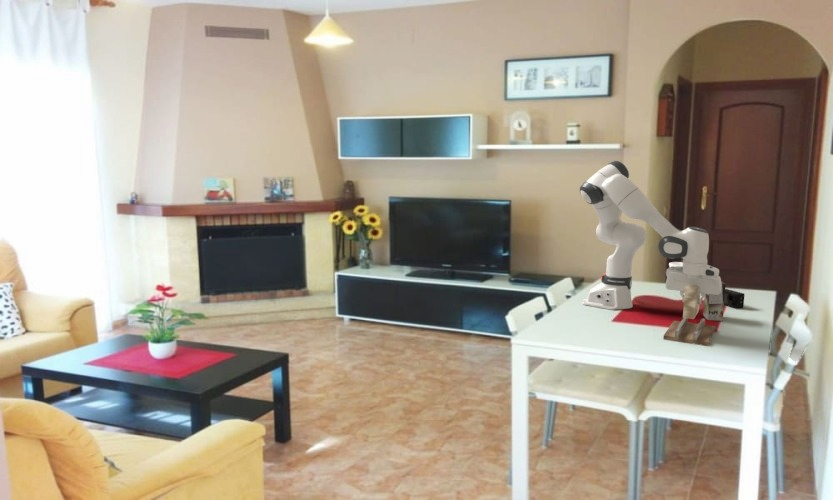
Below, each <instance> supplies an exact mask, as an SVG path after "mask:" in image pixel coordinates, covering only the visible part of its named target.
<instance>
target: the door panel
mask: <svg viewBox="0 0 833 500" xmlns="http://www.w3.org/2000/svg"><path fill="white" fill-rule="evenodd" d="M698 299H701V293H698V286H692V285H687V286H686V287H685V292H684V302H683V312H682V319H683V318H688V319H689V320H695V318H696V316H697V315H698V313H699V311H700V304H697V300H698Z"/></svg>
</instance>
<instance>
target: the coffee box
mask: <svg viewBox="0 0 833 500" xmlns="http://www.w3.org/2000/svg"><path fill="white" fill-rule="evenodd" d="M726 285H727V284H726V283H725V282H724V281H723V280H721V293H720V294H719V295H712V294H705V297H704V298H703V308H702V309H703V311H702V316H703V317H704V319H705V320H707V321H719V322H722V321H723V319H724V306H725V305H724V297H725V289H726Z"/></svg>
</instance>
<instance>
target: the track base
mask: <svg viewBox="0 0 833 500" xmlns="http://www.w3.org/2000/svg"><path fill="white" fill-rule="evenodd" d="M688 321H689V320H688V318H683V317H682V320H681V321H679V320H673V321H672V323H671V324H670V326H668V329H666V331H665V333H664V334H663V337H662V338H663V340H668V341H674V342H681V343H686V342H687V343H688V344H693V343H695V344H694V345H700V344H702V346H707V345H708V344H710V342H711V339H712V338H713V335H714V334H715V331H716V326H715V325H711V324H710V325H709V324H706V318H701V319H700V320H699V321H700V322H699V323H695V322H694V323H693V322H688ZM708 346H709V345H708Z"/></svg>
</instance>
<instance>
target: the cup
mask: <svg viewBox="0 0 833 500" xmlns="http://www.w3.org/2000/svg"><path fill="white" fill-rule="evenodd" d="M668 266H669V267H683V261H672V262H669V263H668ZM669 267H668V268H669ZM675 270H676V269H675Z"/></svg>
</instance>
